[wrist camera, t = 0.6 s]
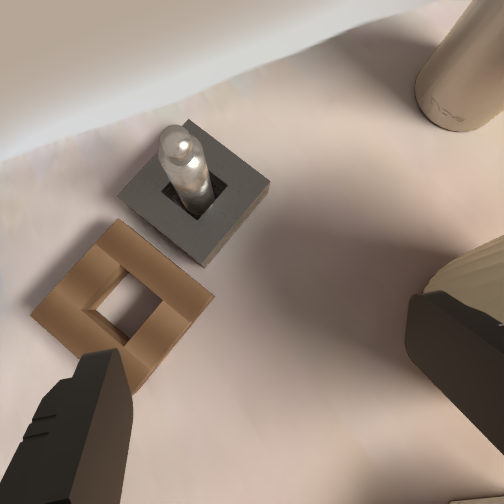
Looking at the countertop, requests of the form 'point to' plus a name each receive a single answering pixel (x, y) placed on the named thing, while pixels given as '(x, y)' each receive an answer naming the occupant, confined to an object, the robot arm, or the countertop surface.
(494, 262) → the canister
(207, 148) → the socket block
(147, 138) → the countertop surface
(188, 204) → the steel pin
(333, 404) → the countertop surface
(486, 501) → the light bulb box
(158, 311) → the rack block
